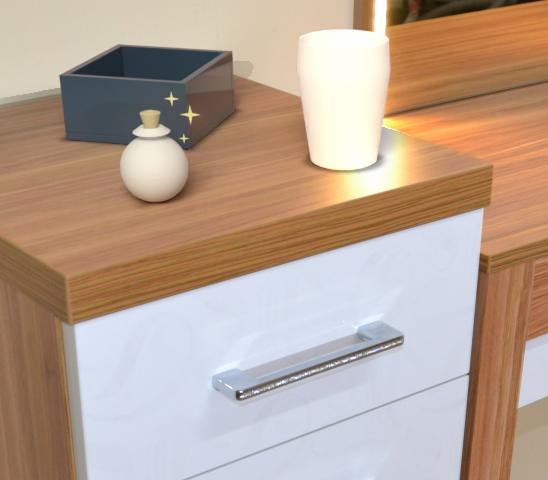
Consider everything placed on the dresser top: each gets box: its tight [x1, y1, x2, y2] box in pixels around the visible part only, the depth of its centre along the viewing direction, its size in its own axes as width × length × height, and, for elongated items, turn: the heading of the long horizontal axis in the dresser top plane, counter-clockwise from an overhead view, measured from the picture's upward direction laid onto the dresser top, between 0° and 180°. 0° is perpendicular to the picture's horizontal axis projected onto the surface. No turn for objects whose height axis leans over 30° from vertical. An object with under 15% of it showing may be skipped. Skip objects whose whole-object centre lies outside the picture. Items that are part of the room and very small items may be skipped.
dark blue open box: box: [58, 43, 236, 150], centre depth 123 cm, size 15×14×7 cm
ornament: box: [119, 92, 199, 203], centre depth 102 cm, size 6×7×10 cm
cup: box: [296, 28, 391, 171], centre depth 112 cm, size 9×9×12 cm
